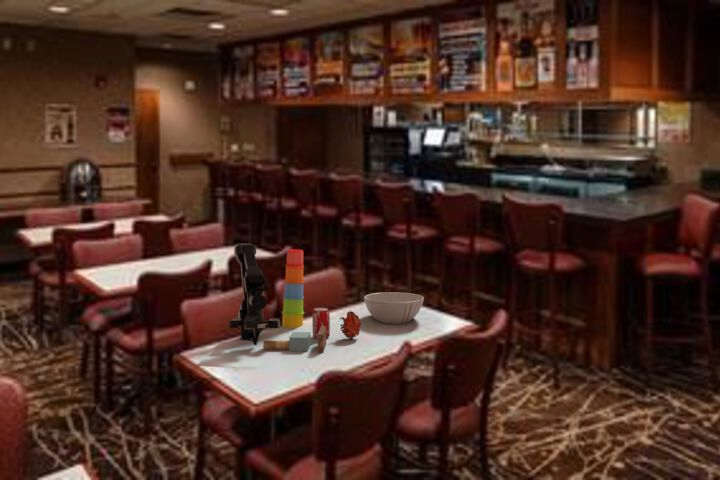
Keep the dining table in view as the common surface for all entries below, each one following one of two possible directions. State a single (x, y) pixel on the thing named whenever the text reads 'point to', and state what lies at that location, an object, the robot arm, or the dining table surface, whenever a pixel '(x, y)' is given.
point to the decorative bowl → (393, 306)
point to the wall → (321, 339)
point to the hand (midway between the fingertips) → (255, 345)
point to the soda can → (320, 321)
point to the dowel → (275, 345)
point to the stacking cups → (293, 290)
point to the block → (299, 341)
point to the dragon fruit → (351, 325)
